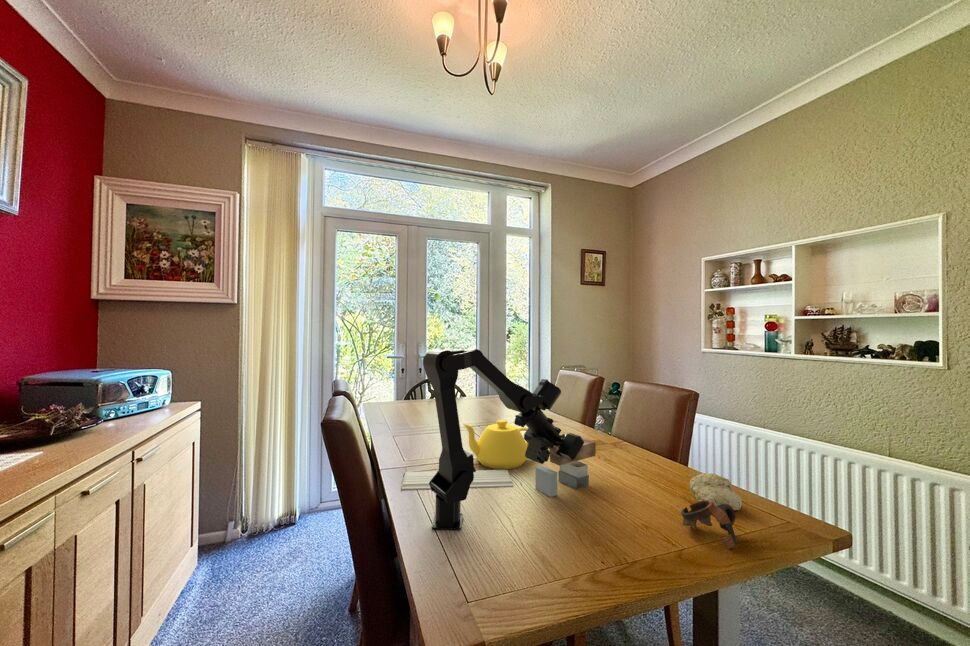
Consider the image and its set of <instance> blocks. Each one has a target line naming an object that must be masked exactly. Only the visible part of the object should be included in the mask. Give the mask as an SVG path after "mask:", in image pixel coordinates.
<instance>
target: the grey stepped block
mask: <svg viewBox="0 0 970 646" xmlns="http://www.w3.org/2000/svg"><path fill="white" fill-rule="evenodd" d="M588 466H589V465H588V464H586V463H584V462H581V461H580V460H578V461H575V462H571V463H567V464H563V465H560V466H559V470H558V482H560V483H562V484H563V485H566V486H568V487H570V488H572V489H574V490H576V491H577V490H580V489H583V488H586V487H589V486H590V476H589V471H588V468H589V467H588Z"/></svg>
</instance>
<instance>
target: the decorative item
mask: <svg viewBox="0 0 970 646" xmlns="http://www.w3.org/2000/svg"><path fill="white" fill-rule="evenodd" d="M732 486H733V484H732V482H731V481H730V479H728V478H726V477H724V476H722V475H719V474H716V473H708V472H702V473H699V474H697V475H695V476H693V477H692V478H691V479H690V480H689V491H690V492H691V493H692V494H693V495H694V496H695V499H696V500H697V502H699V501H703V500H710V501H712V502H713V503H714V505H715V506H718V505H720V504H728V505H730V506H731V507H732V508H733V509H734V511H739V510H741V508H742V505H743V503H742V498H741V496H740V494H738V493H736V491H734V490H733V489H732Z"/></svg>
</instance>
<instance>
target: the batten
mask: <svg viewBox="0 0 970 646" xmlns="http://www.w3.org/2000/svg"><path fill="white" fill-rule="evenodd" d="M583 440H584V444H583V446H582V447H581V449H580V451H579V452H578V454H577V456H576V458H575V459H573V460H570V459H568V458H566V457H564V456H560V455H557V454H556V452H557V451H558V449H559V448H558V447H555V446H554V447H552V449H549V451H550V456H549V462H550V463H552V464H555V465H556V466H559V467H560V465H563V464H567V463H571V462H575V461H581V460H585V459H589V458H592V457H595V456H596V451H597V450H596V448H597V447H596V441H594V440H593V441H592V440H589V439H586V438H585V439H583Z"/></svg>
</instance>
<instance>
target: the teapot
mask: <svg viewBox="0 0 970 646" xmlns="http://www.w3.org/2000/svg"><path fill="white" fill-rule="evenodd" d="M462 425H463V426H464V427H465V428H466V430H467V433H468V446H469V448H470V451H471V452H472V454H475V457H476V459H477V460H478V461H479V462H480V464H481V465H482V464H483V465H482V466H484V467H486V468H489V467H490V469H493V470H510V469H511V470H512V469H517V468H519V467H521V466H523V464H524V463H525V462H526V461H527V459H528V458H526V457H525V453H526V450H527V447H528V444H529V443H527V442H526V441H525V439H524V435H522V432H523V431H525V432H526V431H527V429H528V427H527V426H524V427H521V426H519V427H517V425H515V424H514V425H513V424H508V421H507V419H506V420H505V419H499V420H496V423H493V424H489V425H487V426H486V427H485V429H483V431H482V433H481V435H480V436H479V439H478V441H477V440H476V437H475V436H476V435H475V430H474V427H473V426H472V425H469V424H465V423H462Z"/></svg>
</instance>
